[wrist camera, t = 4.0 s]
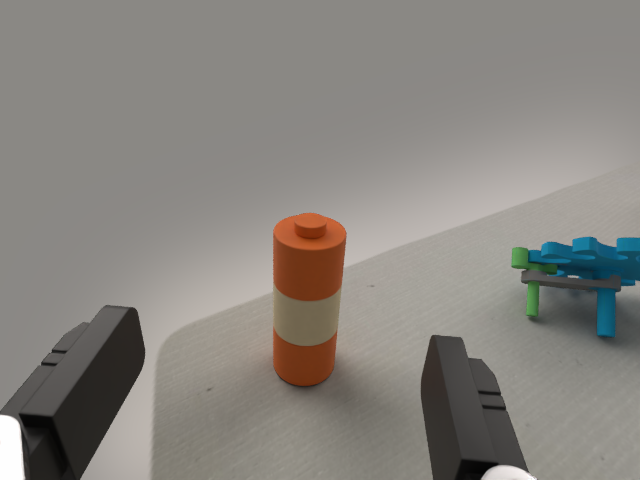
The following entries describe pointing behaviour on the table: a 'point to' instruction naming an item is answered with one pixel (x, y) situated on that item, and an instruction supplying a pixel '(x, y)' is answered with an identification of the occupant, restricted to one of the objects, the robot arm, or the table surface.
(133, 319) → the robot arm
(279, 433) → the table surface
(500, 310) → the table surface
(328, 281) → the orange cylinder
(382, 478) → the table surface
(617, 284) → the gear
